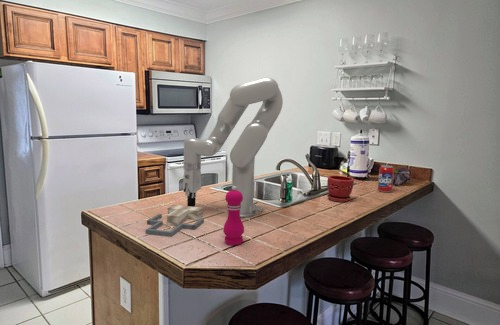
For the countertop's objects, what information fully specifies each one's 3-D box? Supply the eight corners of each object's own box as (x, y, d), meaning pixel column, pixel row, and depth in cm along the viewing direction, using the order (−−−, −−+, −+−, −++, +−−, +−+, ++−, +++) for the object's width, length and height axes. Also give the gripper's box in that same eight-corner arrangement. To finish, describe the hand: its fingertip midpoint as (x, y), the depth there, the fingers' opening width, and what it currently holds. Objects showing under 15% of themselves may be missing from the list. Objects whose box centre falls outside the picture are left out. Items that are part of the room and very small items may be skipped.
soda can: (393, 190, 194) (395, 165, 192) (390, 193, 188) (393, 167, 185) (379, 189, 198) (381, 164, 196) (376, 191, 192) (378, 166, 189)
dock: (203, 222, 134) (203, 218, 134) (184, 238, 117) (184, 234, 117) (159, 217, 139) (159, 213, 139) (133, 232, 122) (133, 228, 122)
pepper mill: (223, 238, 118) (223, 183, 115) (243, 237, 118) (244, 183, 115) (223, 246, 111) (223, 188, 108) (244, 245, 111) (245, 188, 108)
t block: (202, 216, 141) (202, 207, 141) (188, 227, 128) (188, 217, 127) (173, 213, 145) (173, 204, 144) (156, 223, 131) (156, 214, 131)
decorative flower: (381, 167, 218) (404, 161, 216) (383, 182, 222) (405, 176, 221) (390, 177, 204) (414, 171, 203) (392, 193, 209) (416, 187, 208)
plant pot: (343, 204, 163) (344, 181, 162) (321, 199, 173) (322, 176, 171) (357, 200, 172) (358, 177, 170) (335, 195, 182) (337, 174, 180)
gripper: (192, 169, 137) (192, 211, 140) (206, 164, 151) (205, 202, 154) (176, 168, 139) (175, 209, 142) (191, 163, 153) (190, 201, 156)
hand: (191, 206), depth 148 cm, fingers closed
